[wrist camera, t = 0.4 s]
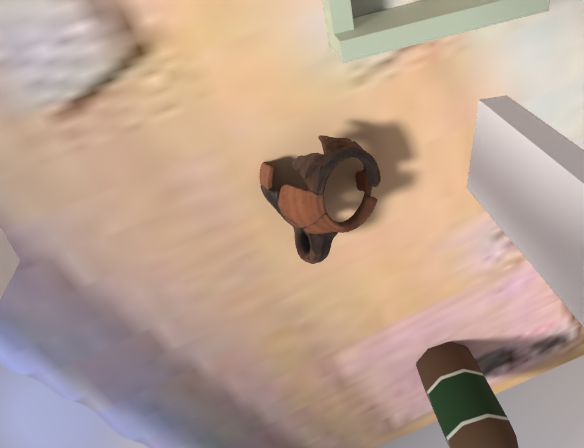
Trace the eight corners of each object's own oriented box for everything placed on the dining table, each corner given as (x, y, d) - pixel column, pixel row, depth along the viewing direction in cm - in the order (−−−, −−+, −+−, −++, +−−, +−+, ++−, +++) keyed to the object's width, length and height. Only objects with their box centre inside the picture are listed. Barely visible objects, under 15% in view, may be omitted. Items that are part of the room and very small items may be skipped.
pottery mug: (250, 131, 42) (306, 145, 35) (332, 121, 47) (395, 132, 40) (254, 256, 46) (305, 289, 39) (330, 235, 51) (386, 261, 44)
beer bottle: (480, 356, 64) (596, 558, 45) (433, 385, 67) (524, 589, 47) (451, 332, 60) (565, 541, 41) (402, 363, 63) (488, 575, 43)
